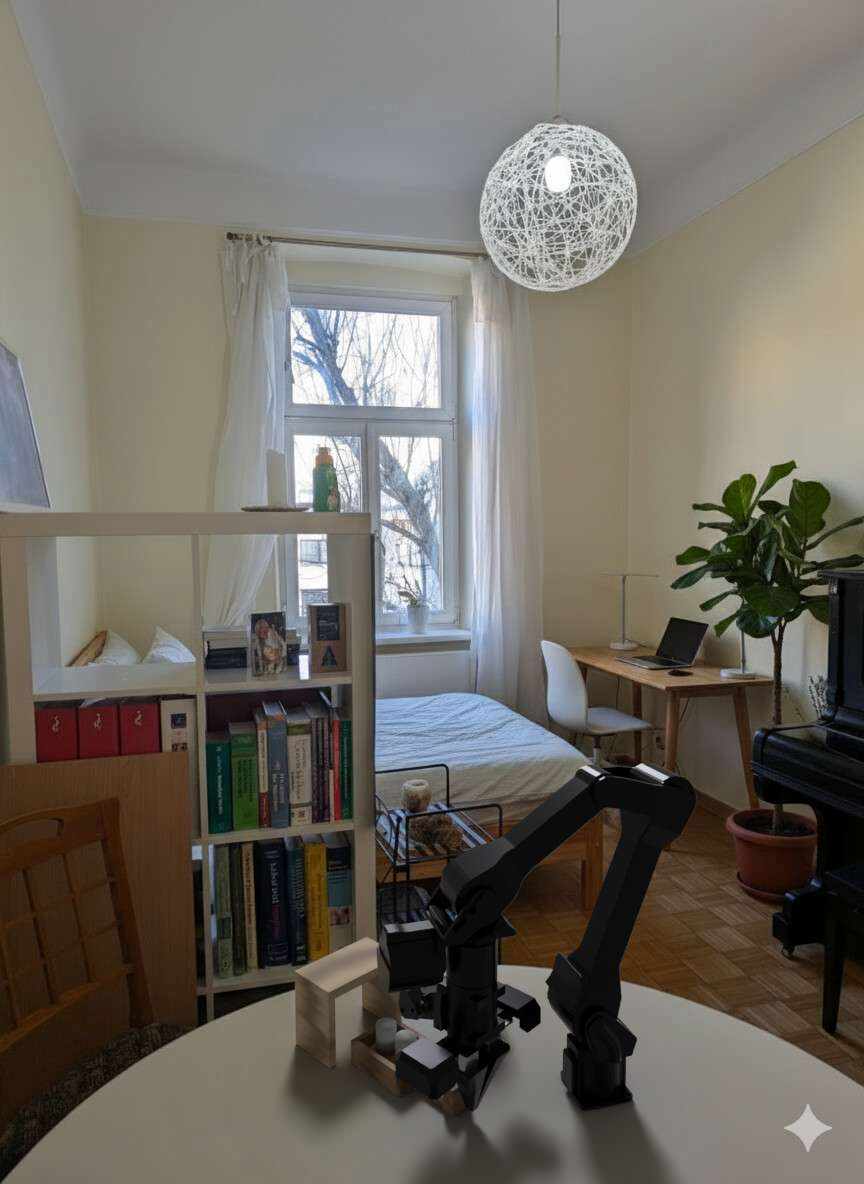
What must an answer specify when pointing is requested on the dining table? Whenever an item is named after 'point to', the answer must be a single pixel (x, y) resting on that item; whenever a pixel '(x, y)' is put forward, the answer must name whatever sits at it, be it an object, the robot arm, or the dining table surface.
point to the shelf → (337, 995)
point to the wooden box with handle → (379, 1055)
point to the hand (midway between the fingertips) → (471, 1108)
